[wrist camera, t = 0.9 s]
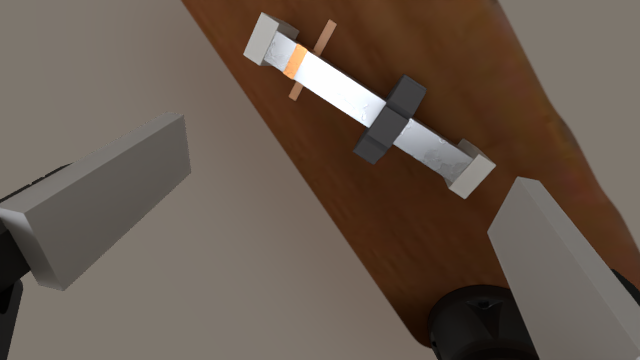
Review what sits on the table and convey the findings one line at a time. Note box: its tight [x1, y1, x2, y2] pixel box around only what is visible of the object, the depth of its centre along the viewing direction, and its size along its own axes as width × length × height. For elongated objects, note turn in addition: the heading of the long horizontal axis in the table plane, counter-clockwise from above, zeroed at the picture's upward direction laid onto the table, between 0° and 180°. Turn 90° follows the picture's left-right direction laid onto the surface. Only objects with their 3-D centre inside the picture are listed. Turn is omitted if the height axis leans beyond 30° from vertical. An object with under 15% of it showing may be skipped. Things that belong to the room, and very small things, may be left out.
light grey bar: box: [264, 31, 473, 182], centre depth 32 cm, size 25×3×3 cm, turn 59°
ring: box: [353, 74, 427, 164], centre depth 32 cm, size 2×9×9 cm, turn 149°
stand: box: [243, 12, 496, 199], centre depth 34 cm, size 27×10×7 cm, turn 59°
